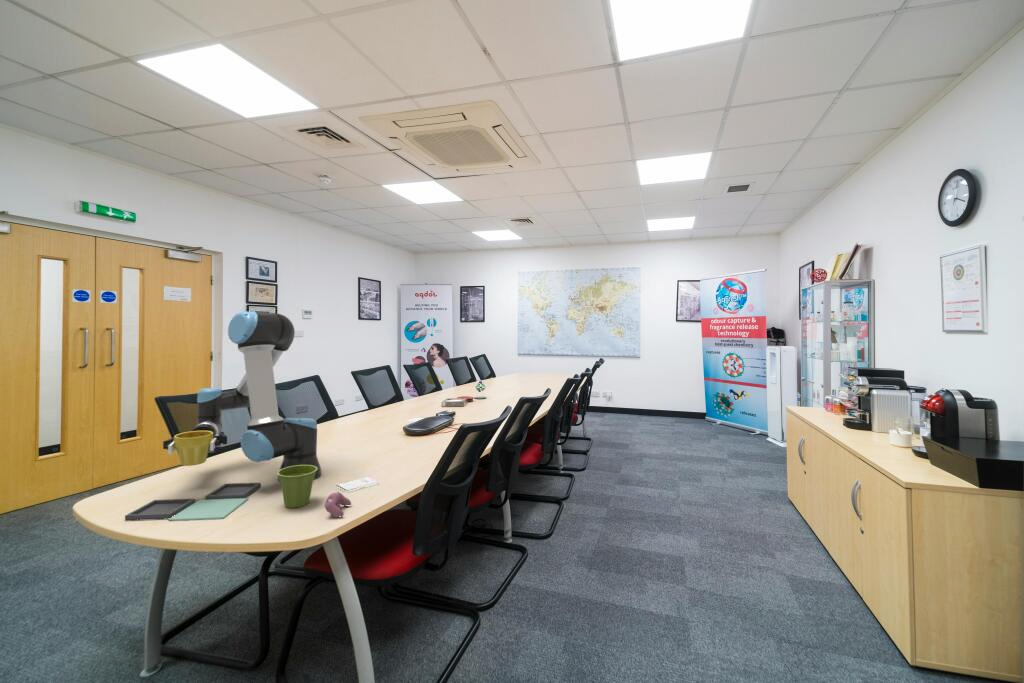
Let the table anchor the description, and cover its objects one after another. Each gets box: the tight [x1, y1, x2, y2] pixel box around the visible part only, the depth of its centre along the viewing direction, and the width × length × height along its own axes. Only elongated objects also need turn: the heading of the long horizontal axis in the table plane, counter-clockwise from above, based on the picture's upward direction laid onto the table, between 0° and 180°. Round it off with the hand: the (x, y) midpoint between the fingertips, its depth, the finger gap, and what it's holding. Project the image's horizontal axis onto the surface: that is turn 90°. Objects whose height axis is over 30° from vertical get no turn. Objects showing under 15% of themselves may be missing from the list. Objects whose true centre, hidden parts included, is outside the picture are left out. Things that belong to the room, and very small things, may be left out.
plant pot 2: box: [276, 465, 318, 509], centre depth 136 cm, size 12×12×11 cm
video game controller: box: [323, 491, 352, 518], centre depth 130 cm, size 10×5×7 cm, turn 6°
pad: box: [167, 497, 249, 521], centre depth 130 cm, size 15×15×1 cm
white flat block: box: [336, 476, 379, 491], centre depth 154 cm, size 2×8×12 cm
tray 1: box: [124, 498, 196, 521], centre depth 128 cm, size 12×12×2 cm
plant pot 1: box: [173, 430, 213, 467], centre depth 138 cm, size 10×10×10 cm
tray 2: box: [204, 482, 262, 500], centre depth 144 cm, size 12×12×2 cm
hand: (191, 448), depth 134 cm, fingers closed on plant pot 1, 10 cm apart
